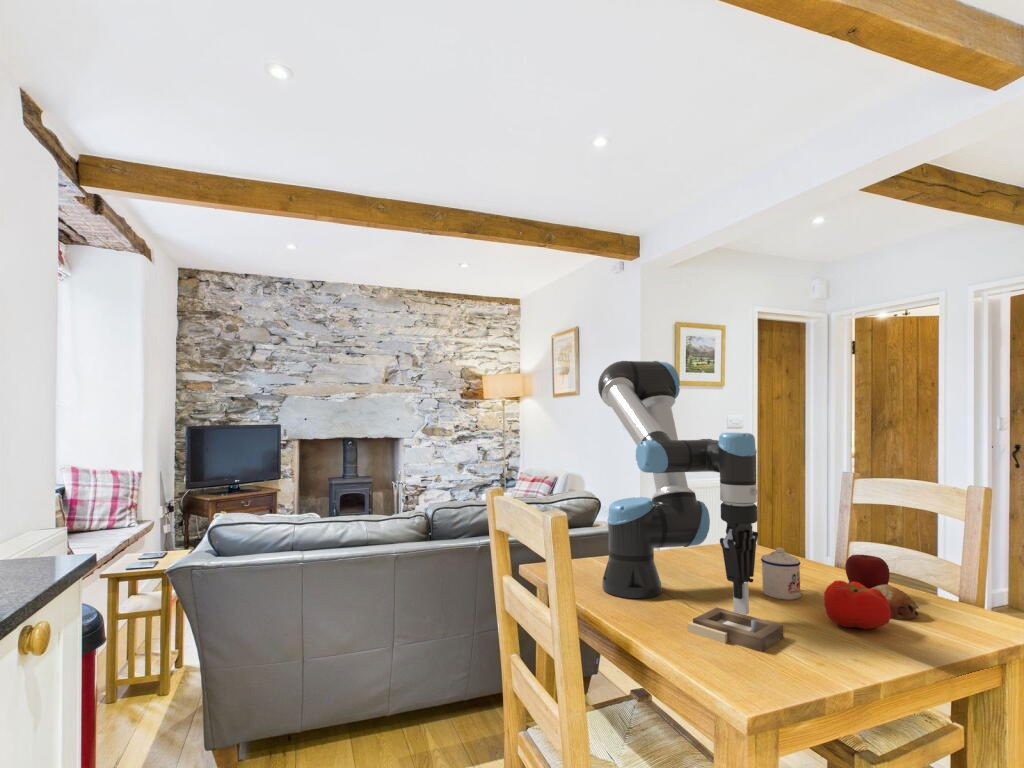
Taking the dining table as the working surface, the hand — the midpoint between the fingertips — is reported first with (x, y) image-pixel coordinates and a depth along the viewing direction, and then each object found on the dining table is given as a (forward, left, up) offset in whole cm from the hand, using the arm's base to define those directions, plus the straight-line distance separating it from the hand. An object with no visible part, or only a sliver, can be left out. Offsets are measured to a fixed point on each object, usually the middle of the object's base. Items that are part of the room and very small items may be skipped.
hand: (741, 612), depth 121 cm
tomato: (+17, +18, -3) cm, 25 cm away
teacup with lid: (-3, +29, -3) cm, 29 cm away
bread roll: (+20, +33, -3) cm, 38 cm away
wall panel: (+2, -9, -3) cm, 10 cm away
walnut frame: (+4, -9, -1) cm, 10 cm away
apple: (+12, +44, -3) cm, 46 cm away
